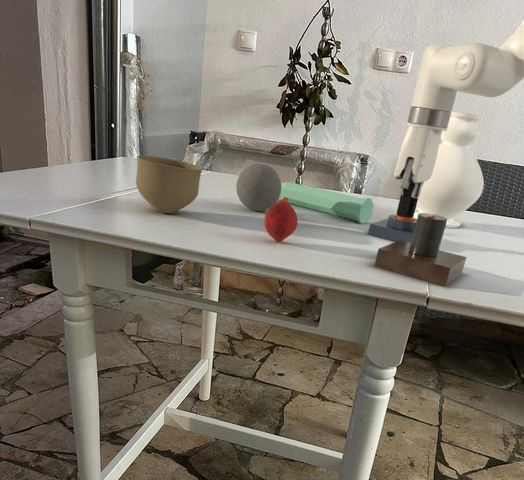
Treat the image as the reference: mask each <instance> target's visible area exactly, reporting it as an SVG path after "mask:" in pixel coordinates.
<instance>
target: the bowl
mask: <svg viewBox="0 0 524 480" xmlns="http://www.w3.org/2000/svg"><path fill="white" fill-rule="evenodd" d="M136 160H137V165H136V166H137V169H136V177H135V178H136V179H135V186H136V188H137V191H138V192H139V194H140V195H141V196H142V198H143V199H144V200H145V201H146V202H147V203H148V204H149V205H150V207H151V209H152V210H153V211H155V212H159V213H162V214H171V215H172V214H178V213H179V212H180V211H181V210H183V209H184V208H185V207H187V206H188V205H190V204H192V203H194V201H195V199H196V198H197V197H198V195H199V190H200V181H201V176H202V175H201V174H202V172H203V168H202V167H201V166H199V165H196V164H194V163H189V162H186V161H181V160H176V159H172V158H167V157H161V156H152V155H137V156H136Z"/></svg>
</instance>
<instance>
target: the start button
mask: <svg viewBox="0 0 524 480" xmlns="http://www.w3.org/2000/svg"><path fill="white" fill-rule="evenodd" d="M395 215H396V218H397V219H401V220H406V221H413V220H414V218H413V217H412V218H406V217H402V216H398V215H397V214H395Z"/></svg>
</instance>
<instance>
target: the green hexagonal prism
mask: <svg viewBox="0 0 524 480" xmlns="http://www.w3.org/2000/svg"><path fill="white" fill-rule="evenodd" d="M283 197H287V198H288V204H290V205H291V204H292V205H295V206H299V207H303V208H308V209H312V210H315V211H319V212H322V213H327V214H330V215H334V216H338V217H342V218H346V219H349V220H350V219H351V220H354V221H357V222H358V223H357V224H367V223H368V222H369V220H370V219H371V217H372V216H373V211H374V202H373V199H372V198H371V197H363V198H362V197H358V196H354V195H348V194H344V193H339V192H335V191H332V190H326V189H322V188H319V187H318V188H317V187H314V186H309V185H304V184H299V183H297V182H291V181H290V182H289V181H287V182H284V183H281V194H280V197H279V198H280V199H281V198H283Z"/></svg>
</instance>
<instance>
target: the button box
mask: <svg viewBox="0 0 524 480" xmlns="http://www.w3.org/2000/svg"><path fill="white" fill-rule="evenodd" d="M396 215H397V214H390V215H388V216H387V218H385V219H380V220H378V221H375V222H371V223H369V227H368V233H367V235H368V236H373V237H378V238H381V239H385V240H388V241H393V242H396V241H399V240H401V241H405V242H409V243H411V241H412V237H413V233H414V229H415V225H416V221H417V219H416V218H414V220H413V221H406V220H401V219H397V218H396Z"/></svg>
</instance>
